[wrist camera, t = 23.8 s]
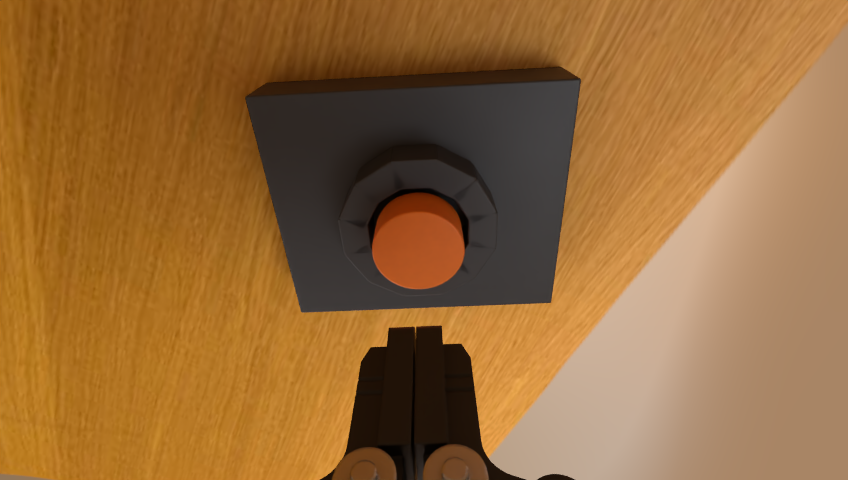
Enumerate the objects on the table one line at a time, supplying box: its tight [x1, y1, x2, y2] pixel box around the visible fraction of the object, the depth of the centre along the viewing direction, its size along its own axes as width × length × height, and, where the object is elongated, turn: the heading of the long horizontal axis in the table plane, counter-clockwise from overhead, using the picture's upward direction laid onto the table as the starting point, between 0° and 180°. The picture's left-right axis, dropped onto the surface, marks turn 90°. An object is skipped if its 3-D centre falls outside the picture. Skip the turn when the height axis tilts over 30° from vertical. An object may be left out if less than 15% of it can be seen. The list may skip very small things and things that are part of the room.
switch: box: [372, 192, 465, 289], centre depth 17 cm, size 4×4×2 cm
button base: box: [245, 67, 581, 312], centre depth 19 cm, size 13×11×4 cm
